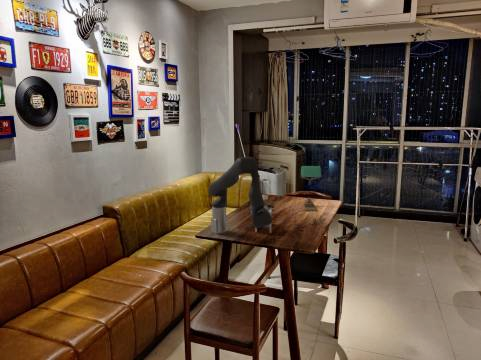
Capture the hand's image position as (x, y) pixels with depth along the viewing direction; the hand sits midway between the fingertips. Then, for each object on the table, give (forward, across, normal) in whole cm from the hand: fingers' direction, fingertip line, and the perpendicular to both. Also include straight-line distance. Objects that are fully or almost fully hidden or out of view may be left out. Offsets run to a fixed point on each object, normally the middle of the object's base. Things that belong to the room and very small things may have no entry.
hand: (263, 204), depth 219 cm
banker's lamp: (+74, -37, +22) cm, 86 cm away
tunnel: (+17, 0, +22) cm, 27 cm away
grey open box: (+27, 0, +22) cm, 34 cm away
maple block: (+1, 0, +7) cm, 7 cm away
